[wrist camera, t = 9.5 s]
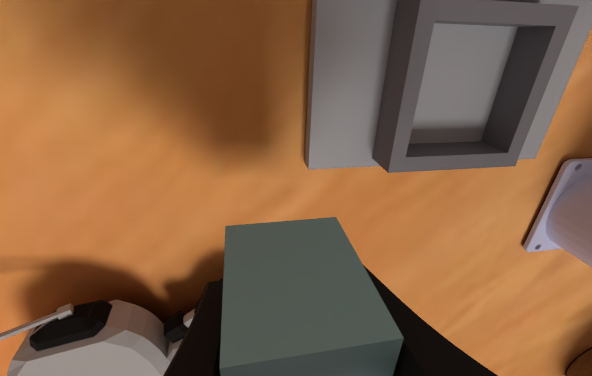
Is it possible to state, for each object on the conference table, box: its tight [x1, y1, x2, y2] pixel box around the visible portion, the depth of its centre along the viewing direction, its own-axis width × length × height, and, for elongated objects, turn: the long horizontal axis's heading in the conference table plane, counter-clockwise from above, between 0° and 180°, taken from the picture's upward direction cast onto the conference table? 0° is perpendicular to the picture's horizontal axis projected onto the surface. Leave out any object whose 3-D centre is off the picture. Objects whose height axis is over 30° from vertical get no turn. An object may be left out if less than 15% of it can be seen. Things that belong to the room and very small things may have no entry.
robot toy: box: [0, 278, 223, 376], centre depth 20 cm, size 12×4×15 cm
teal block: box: [220, 217, 404, 376], centre depth 9 cm, size 4×4×5 cm
